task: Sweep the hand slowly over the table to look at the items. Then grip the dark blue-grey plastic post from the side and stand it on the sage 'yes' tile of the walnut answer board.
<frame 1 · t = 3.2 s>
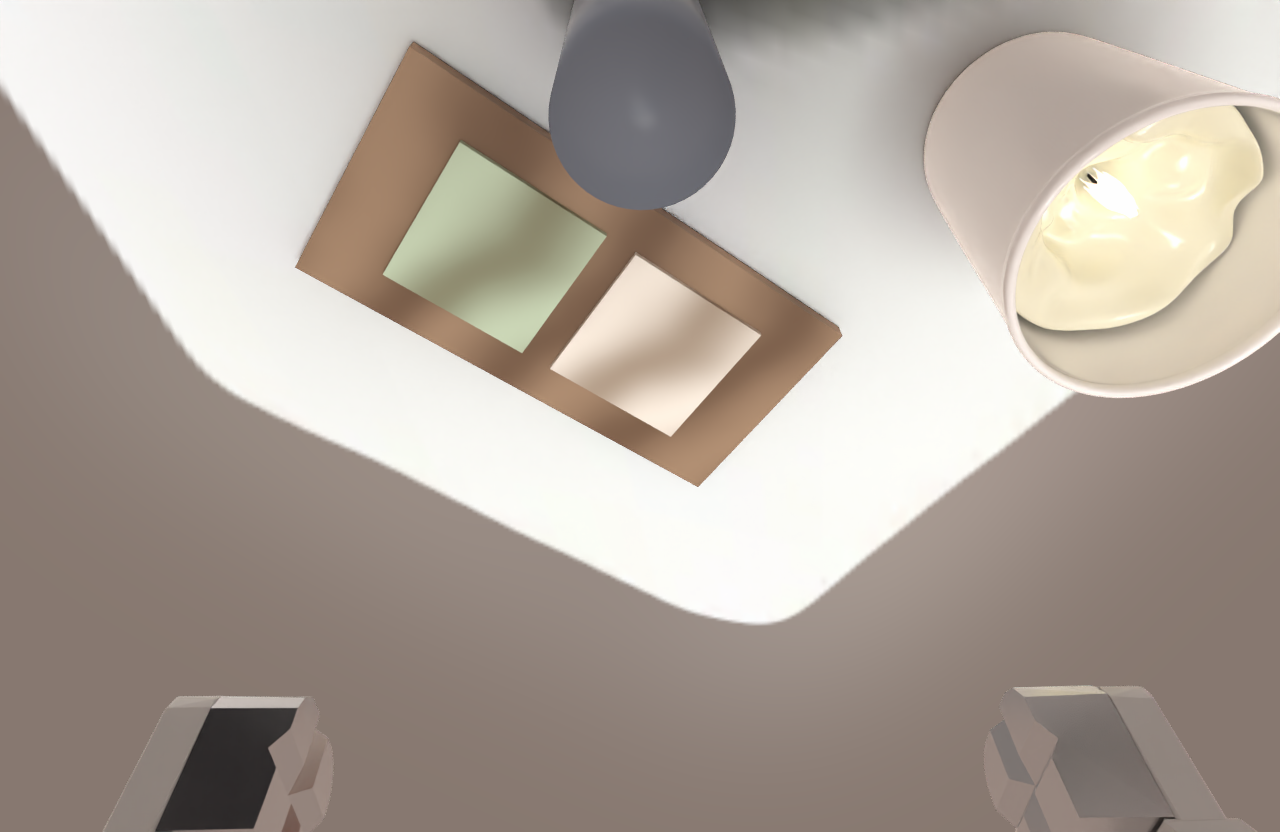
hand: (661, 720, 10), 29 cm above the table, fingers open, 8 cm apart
answer board: (577, 294, 39), on the table
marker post: (636, 26, 33), on the table
candle holder: (1021, 136, 36), on the table
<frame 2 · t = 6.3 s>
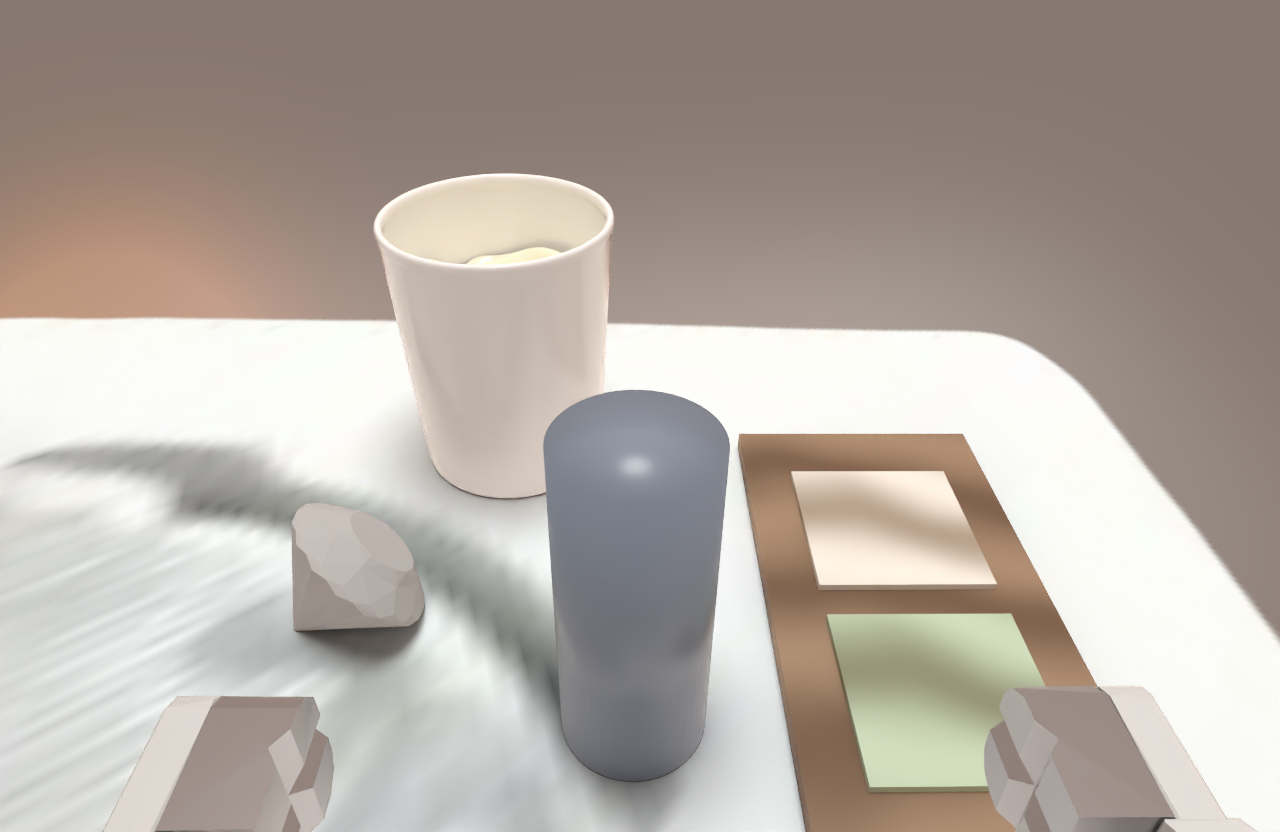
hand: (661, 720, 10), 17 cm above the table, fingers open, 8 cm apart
answer board: (908, 618, 34), on the table
gemstone: (364, 613, 34), on the table
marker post: (633, 715, 30), on the table
candle holder: (516, 448, 43), on the table
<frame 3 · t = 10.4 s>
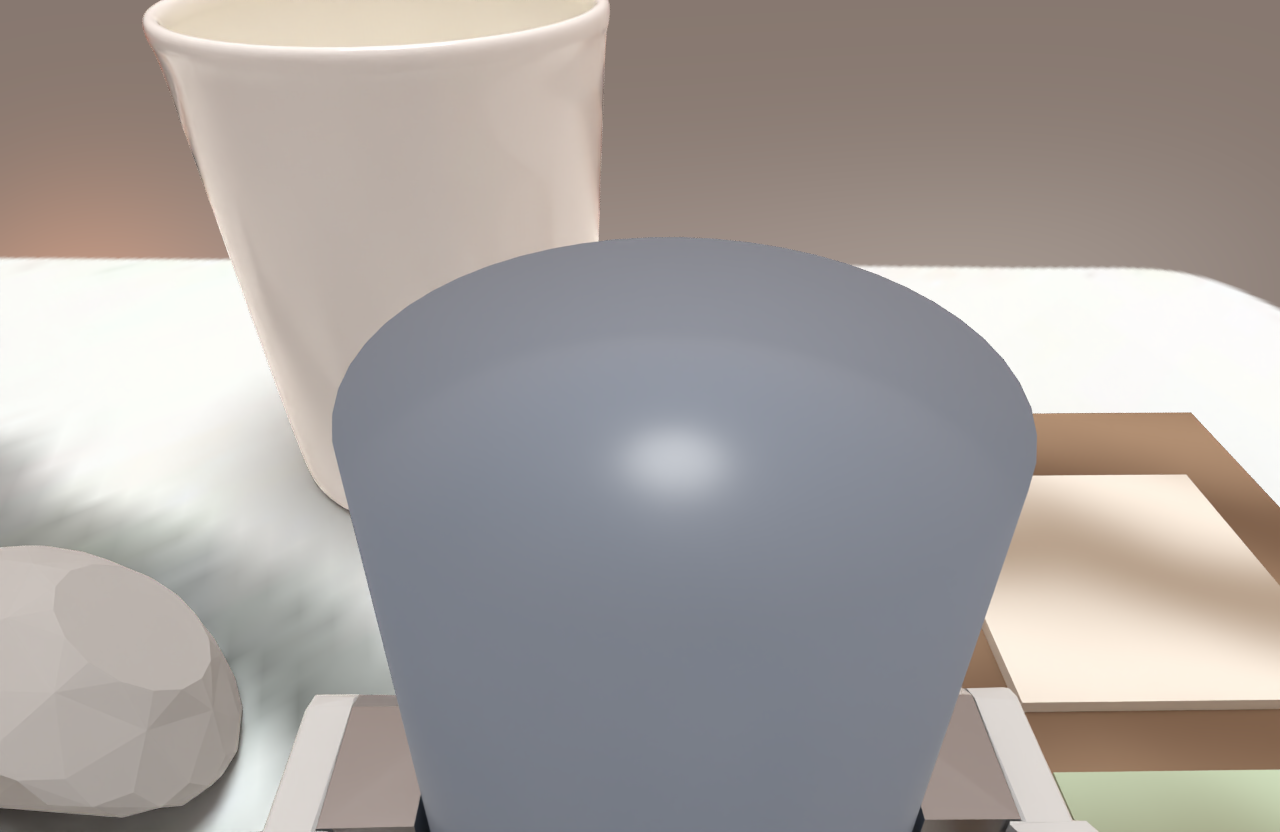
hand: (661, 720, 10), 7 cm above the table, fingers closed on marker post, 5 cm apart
answer board: (1198, 767, 17), on the table
gemstone: (122, 761, 17), on the table
candle holder: (453, 441, 26), on the table
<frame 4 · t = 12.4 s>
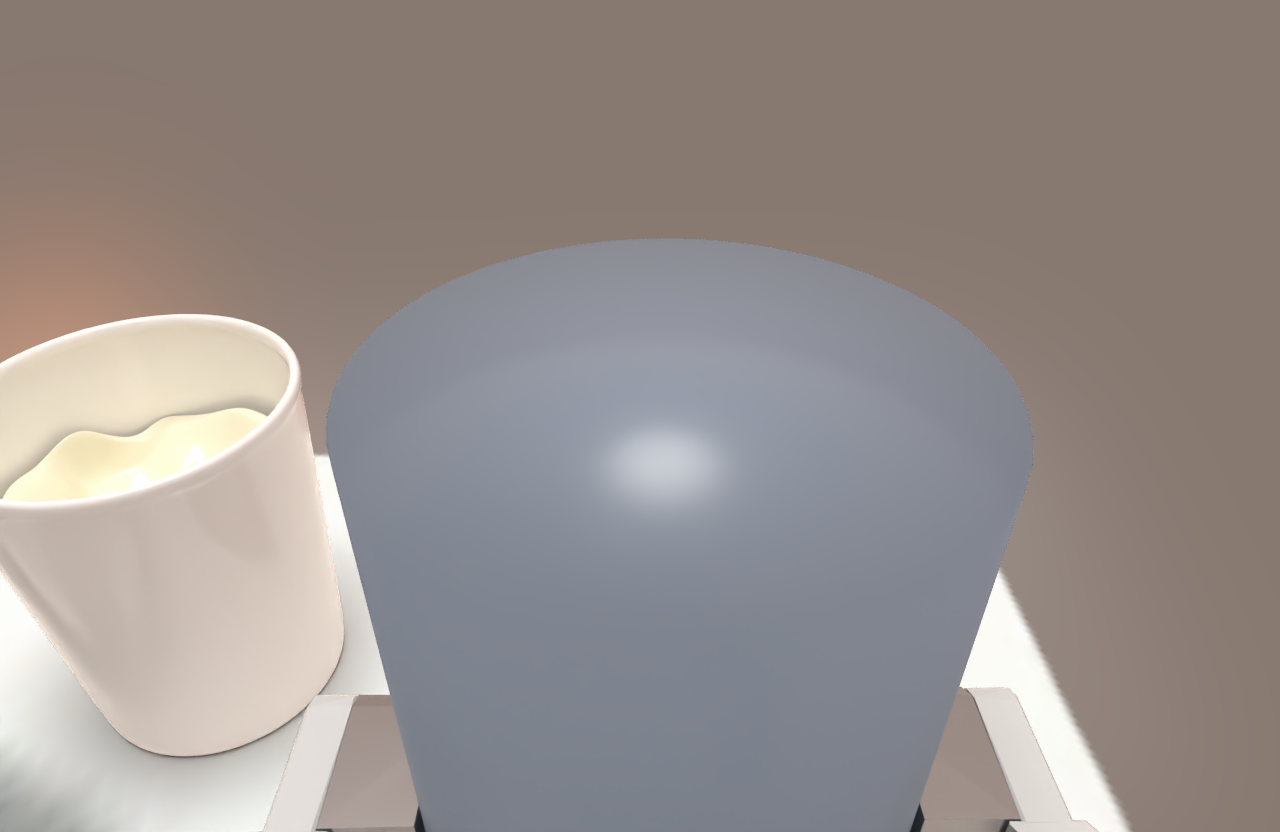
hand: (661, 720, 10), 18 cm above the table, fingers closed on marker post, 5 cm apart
candle holder: (231, 662, 32), on the table
when the fingers open (9 cm above the table, at t = 14.5 s): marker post drops 1 cm, resting on answer board.
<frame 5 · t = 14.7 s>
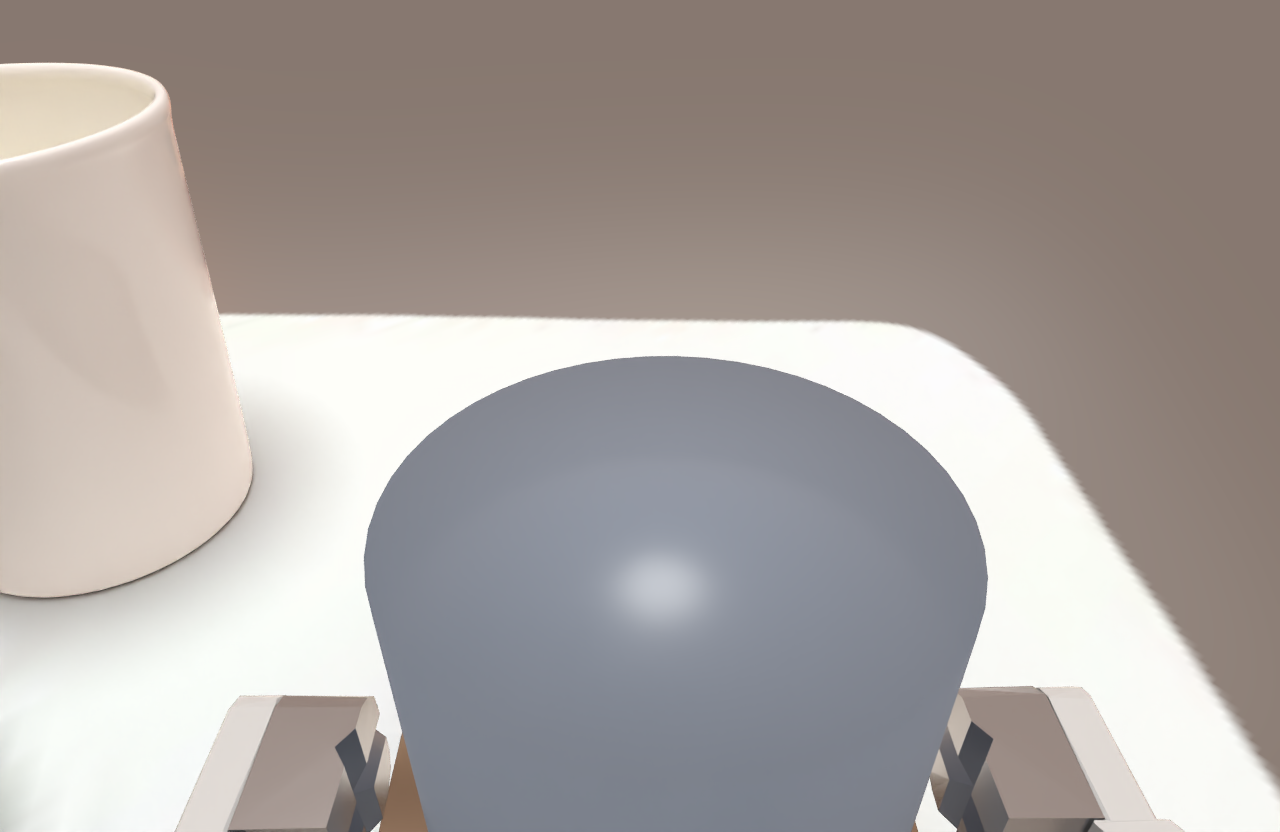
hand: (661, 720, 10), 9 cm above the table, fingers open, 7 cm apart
candle holder: (117, 507, 27), on the table
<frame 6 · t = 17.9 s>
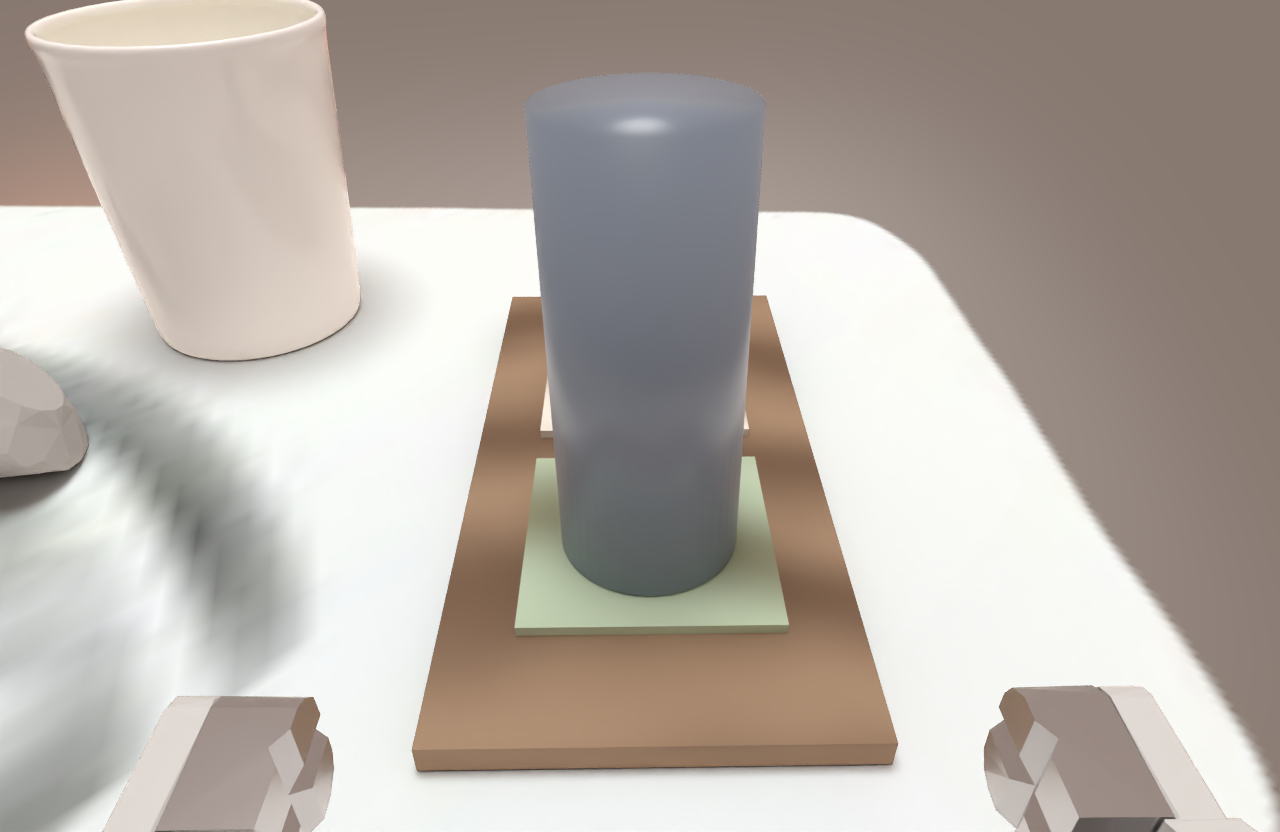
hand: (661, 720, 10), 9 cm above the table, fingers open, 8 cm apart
answer board: (645, 469, 29), on the table
gemstone: (13, 470, 29), on the table
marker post: (649, 531, 25), point 1 cm above the table, touching answer board
candle holder: (265, 317, 38), on the table
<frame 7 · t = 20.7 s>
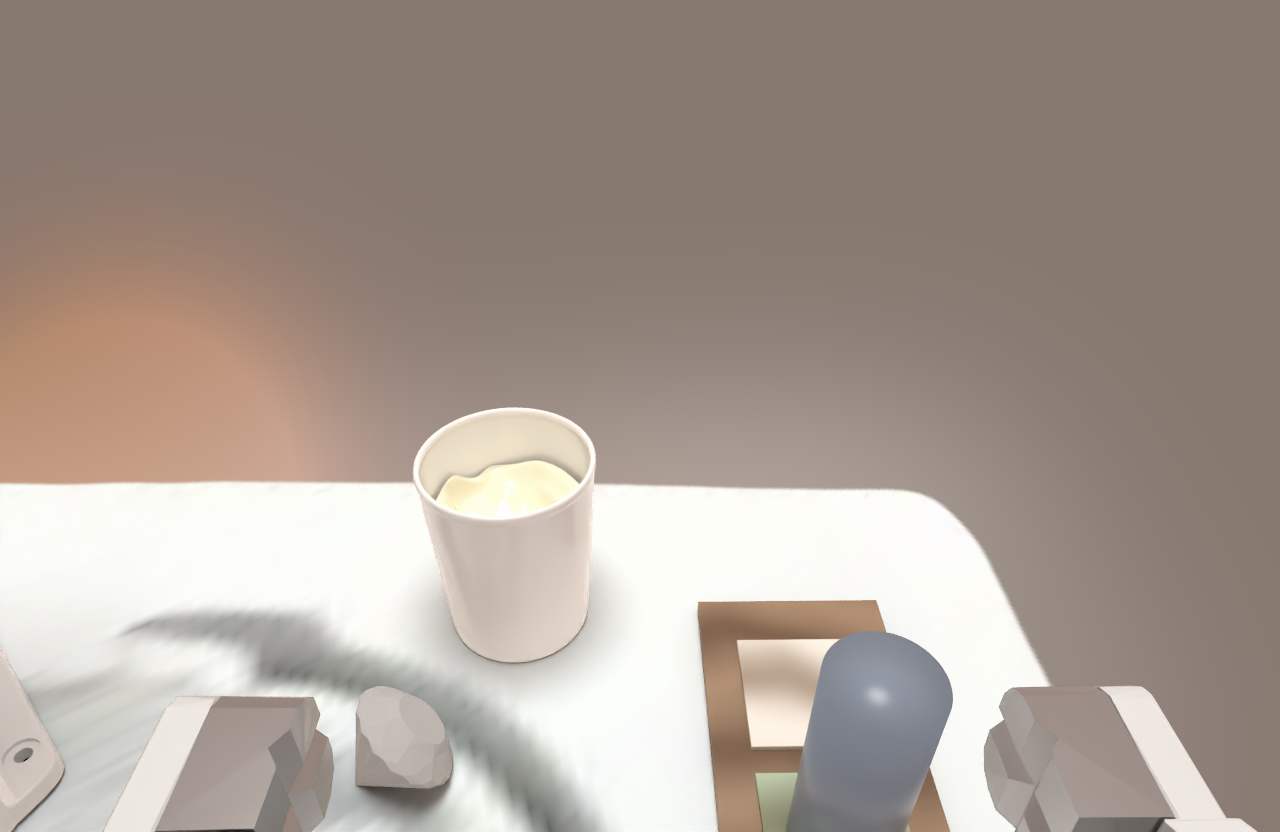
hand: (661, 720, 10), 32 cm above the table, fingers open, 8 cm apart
answer board: (819, 771, 45), on the table
gemstone: (407, 769, 45), on the table
candle holder: (521, 612, 54), on the table
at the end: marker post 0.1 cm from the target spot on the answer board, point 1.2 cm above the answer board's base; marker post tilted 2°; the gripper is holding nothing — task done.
